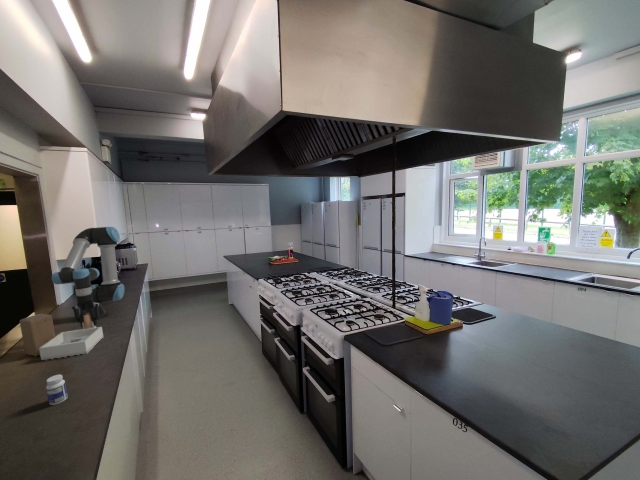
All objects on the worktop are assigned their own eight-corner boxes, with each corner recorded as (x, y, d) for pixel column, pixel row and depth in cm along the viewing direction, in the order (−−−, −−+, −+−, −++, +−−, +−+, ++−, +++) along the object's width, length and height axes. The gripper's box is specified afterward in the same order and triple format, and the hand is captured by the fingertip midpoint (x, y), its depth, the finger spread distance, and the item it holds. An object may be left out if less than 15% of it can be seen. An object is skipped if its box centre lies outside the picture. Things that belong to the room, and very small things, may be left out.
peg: (88, 335, 178) (85, 313, 176) (96, 334, 179) (92, 312, 177) (85, 337, 174) (81, 315, 172) (93, 336, 175) (89, 314, 173)
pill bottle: (56, 396, 119) (52, 374, 118) (71, 395, 119) (67, 372, 118) (44, 406, 113) (40, 382, 112) (60, 404, 114) (56, 381, 112)
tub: (63, 343, 168) (61, 332, 167) (103, 337, 173) (101, 326, 172) (41, 361, 149) (39, 348, 148) (86, 353, 154) (85, 341, 153)
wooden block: (58, 348, 162) (52, 314, 160) (36, 357, 153) (29, 321, 150) (47, 346, 166) (41, 312, 163) (24, 355, 156) (18, 319, 154)
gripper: (63, 298, 167) (70, 336, 170) (97, 294, 172) (103, 331, 175) (70, 294, 174) (76, 331, 177) (103, 290, 179) (108, 326, 182)
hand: (90, 331), depth 176 cm, fingers closed on peg, 4 cm apart
